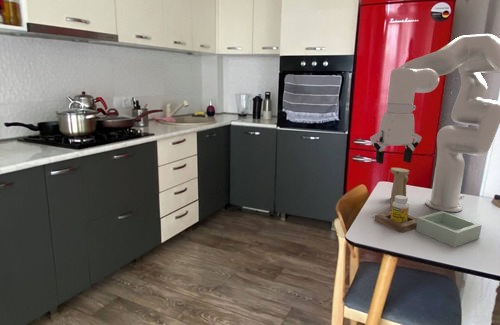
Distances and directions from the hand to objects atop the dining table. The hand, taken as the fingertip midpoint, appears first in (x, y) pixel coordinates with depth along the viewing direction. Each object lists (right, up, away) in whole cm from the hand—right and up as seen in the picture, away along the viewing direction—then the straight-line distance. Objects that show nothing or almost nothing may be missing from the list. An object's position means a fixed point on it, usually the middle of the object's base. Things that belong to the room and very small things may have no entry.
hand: (393, 162), depth 114 cm
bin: (+17, -23, -1) cm, 29 cm away
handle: (+10, -18, +22) cm, 30 cm away
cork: (+14, -16, +30) cm, 37 cm away
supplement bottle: (+5, -21, +7) cm, 23 cm away
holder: (+5, -21, +7) cm, 23 cm away
